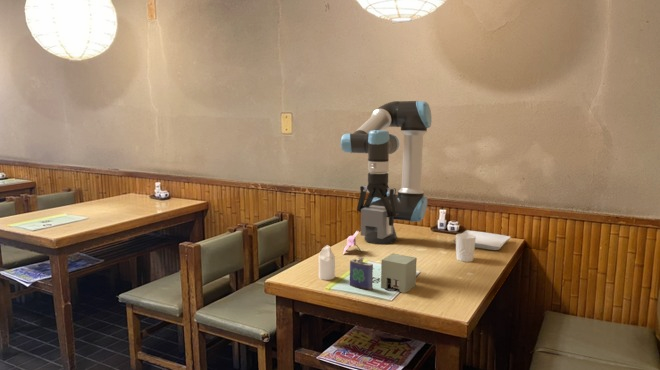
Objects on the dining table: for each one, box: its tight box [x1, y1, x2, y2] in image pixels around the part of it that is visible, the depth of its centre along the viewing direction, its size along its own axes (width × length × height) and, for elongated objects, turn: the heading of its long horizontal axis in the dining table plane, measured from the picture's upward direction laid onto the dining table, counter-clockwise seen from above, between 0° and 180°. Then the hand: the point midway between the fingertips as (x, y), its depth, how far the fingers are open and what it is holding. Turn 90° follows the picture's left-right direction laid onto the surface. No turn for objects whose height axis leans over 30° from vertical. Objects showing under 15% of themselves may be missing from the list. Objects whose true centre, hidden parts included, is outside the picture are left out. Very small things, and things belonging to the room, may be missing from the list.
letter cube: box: [390, 279, 400, 290], centre depth 172 cm, size 4×4×4 cm
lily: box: [342, 230, 362, 255], centre depth 214 cm, size 12×12×10 cm
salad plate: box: [453, 229, 511, 251], centre depth 228 cm, size 21×21×3 cm
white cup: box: [455, 233, 476, 263], centre depth 204 cm, size 8×8×10 cm
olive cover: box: [380, 253, 418, 294], centre depth 172 cm, size 9×9×10 cm
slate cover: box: [360, 205, 394, 239], centre depth 186 cm, size 9×9×10 cm
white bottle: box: [318, 244, 336, 281], centre depth 181 cm, size 6×12×6 cm
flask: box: [349, 256, 374, 291], centre depth 171 cm, size 9×3×11 cm, turn 51°
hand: (377, 231), depth 186 cm, fingers closed on slate cover, 9 cm apart
